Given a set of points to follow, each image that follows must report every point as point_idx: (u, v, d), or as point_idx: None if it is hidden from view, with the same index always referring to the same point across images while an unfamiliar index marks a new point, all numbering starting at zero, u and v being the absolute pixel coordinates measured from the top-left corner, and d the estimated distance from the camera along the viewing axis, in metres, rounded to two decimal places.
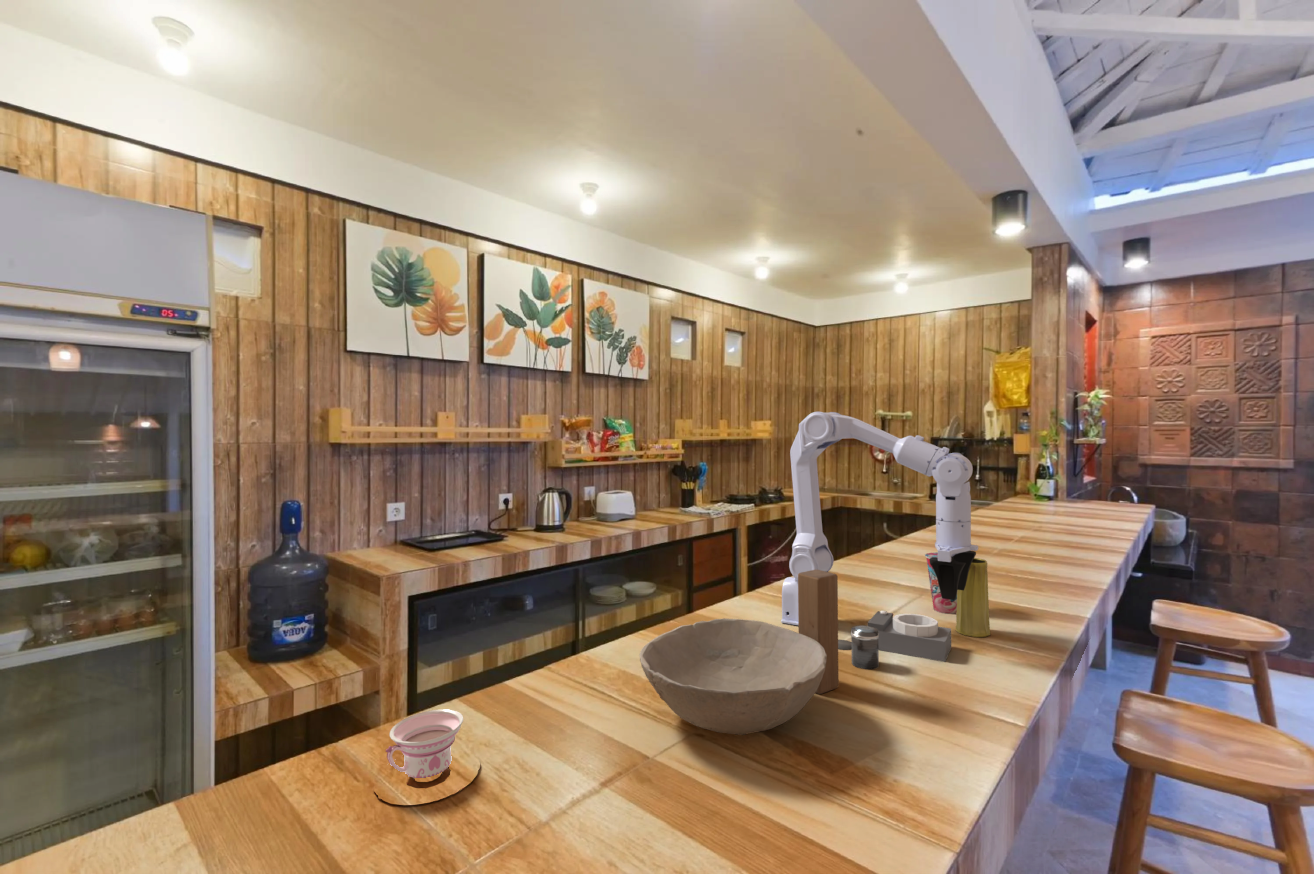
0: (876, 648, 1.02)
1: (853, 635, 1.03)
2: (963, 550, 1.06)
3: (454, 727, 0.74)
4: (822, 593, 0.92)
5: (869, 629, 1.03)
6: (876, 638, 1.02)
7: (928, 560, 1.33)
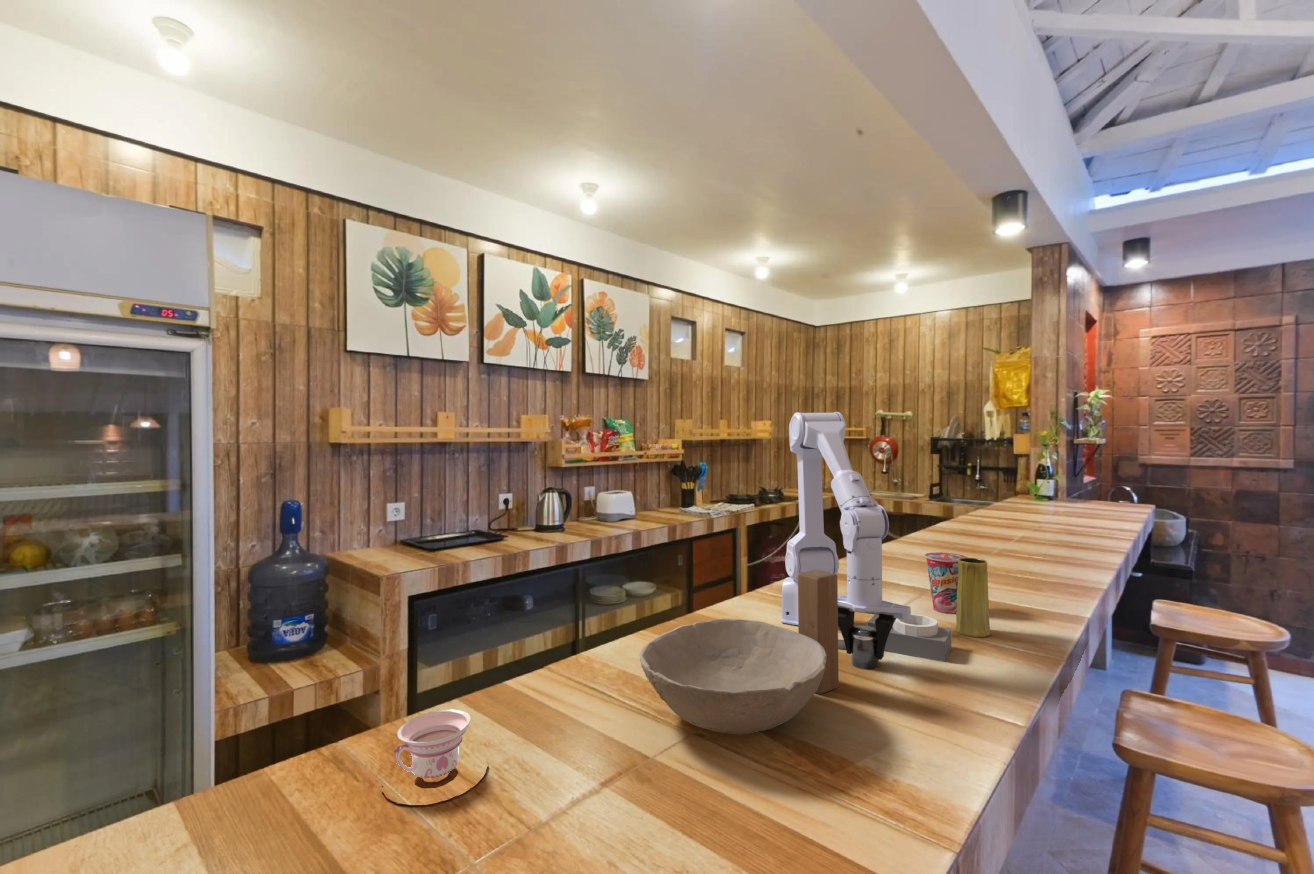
0: (876, 648, 1.02)
1: (853, 635, 1.03)
2: (844, 605, 1.03)
3: (461, 727, 0.74)
4: (822, 593, 0.92)
5: (869, 629, 1.03)
6: (876, 638, 1.02)
7: (928, 560, 1.33)
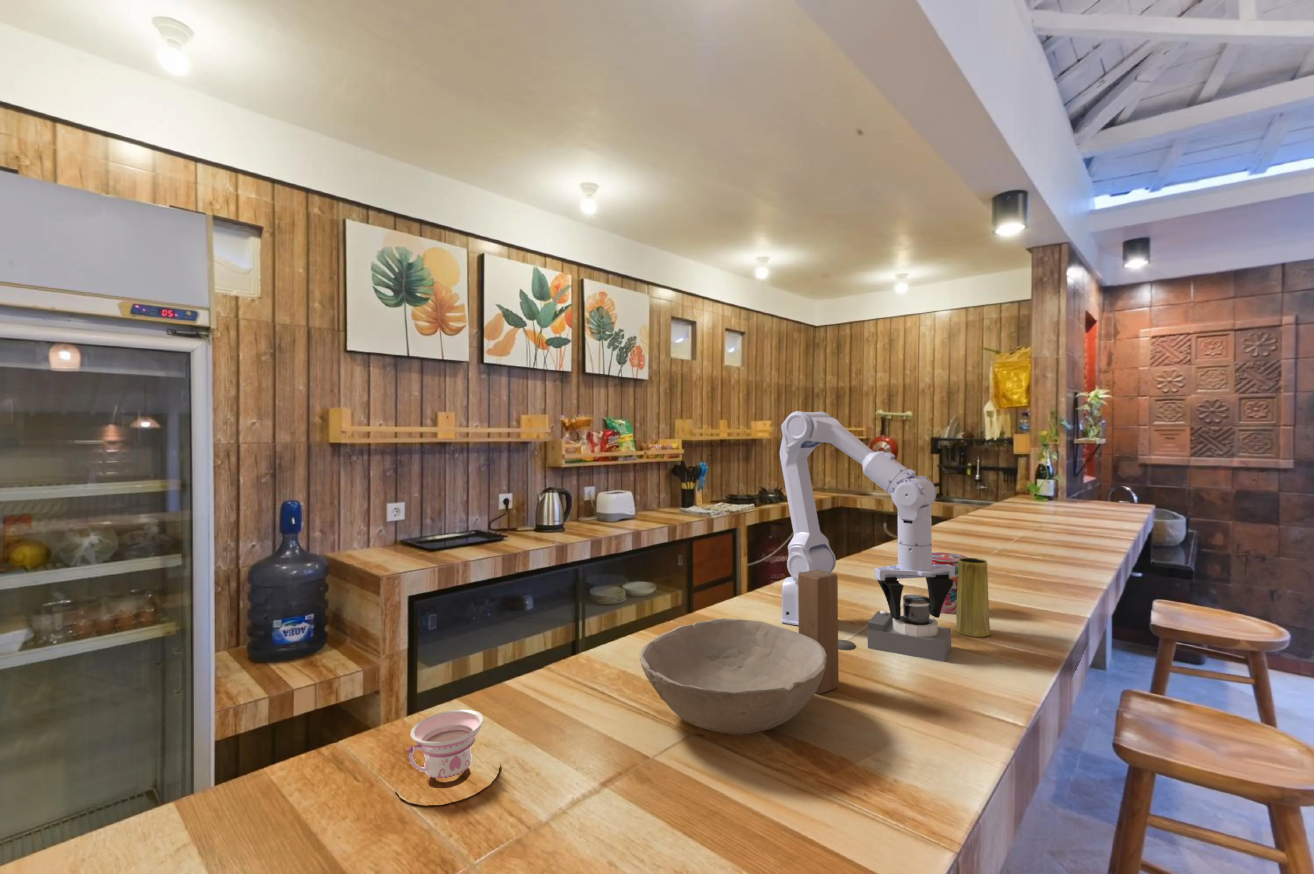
0: (929, 613, 1.09)
1: (911, 604, 1.08)
2: (906, 573, 1.08)
3: (474, 727, 0.74)
4: (822, 593, 0.92)
5: (920, 596, 1.10)
6: (929, 603, 1.09)
7: None
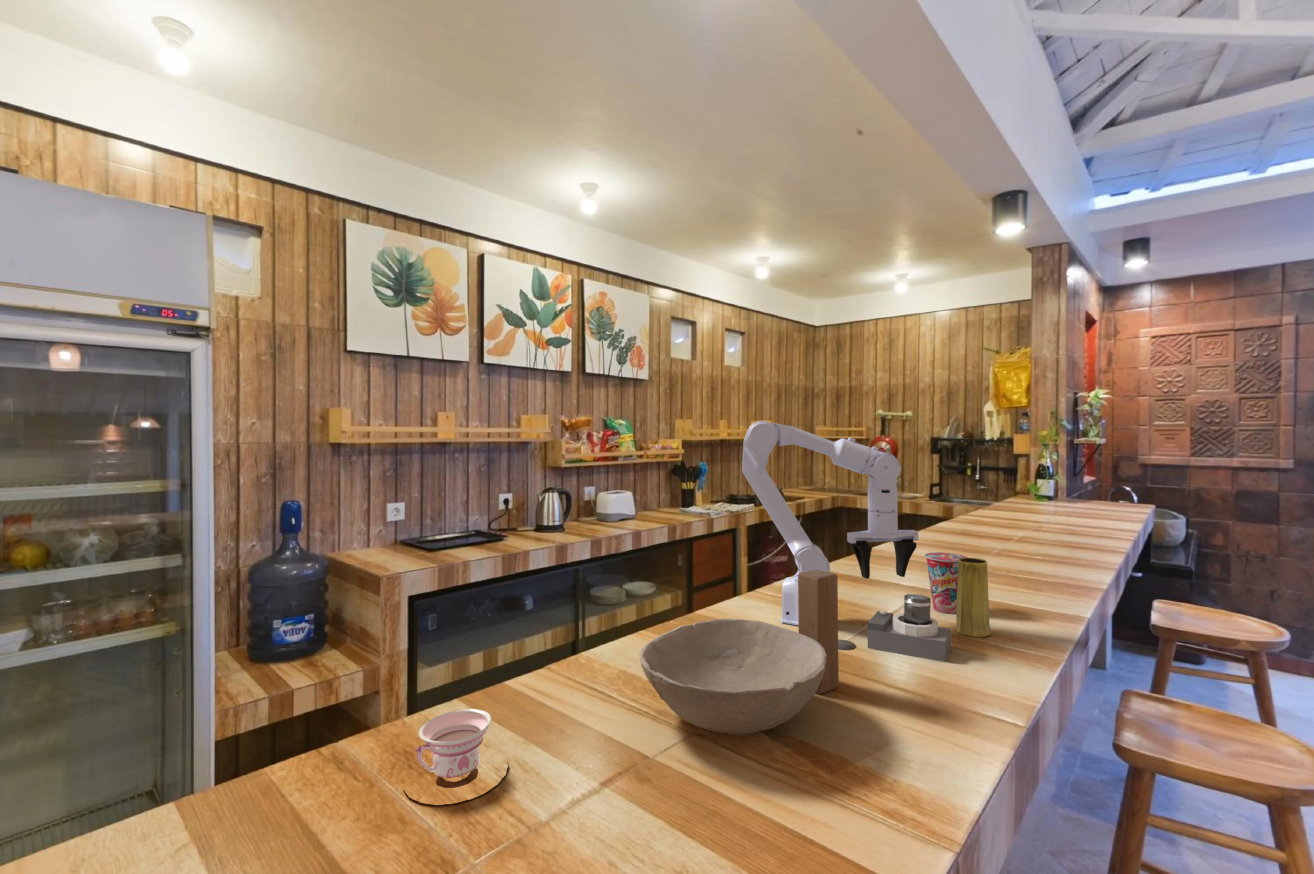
0: None
1: (913, 604, 1.08)
2: (875, 536, 1.21)
3: (482, 727, 0.74)
4: (822, 593, 0.92)
5: (921, 596, 1.10)
6: (930, 603, 1.09)
7: (928, 560, 1.33)
